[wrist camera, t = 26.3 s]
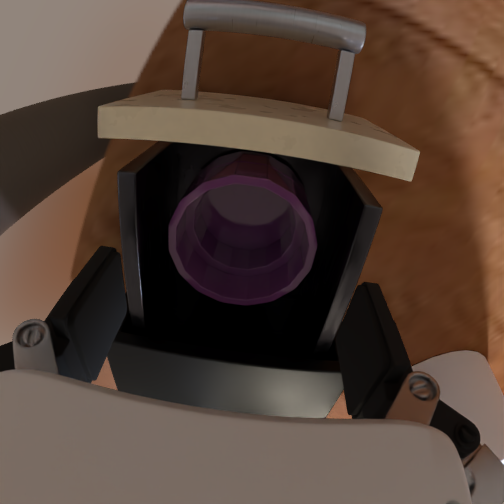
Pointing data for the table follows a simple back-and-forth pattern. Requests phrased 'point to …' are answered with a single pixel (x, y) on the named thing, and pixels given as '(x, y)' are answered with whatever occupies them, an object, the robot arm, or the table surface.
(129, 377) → the cabinet
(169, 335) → the drawer
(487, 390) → the cylinder
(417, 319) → the table surface
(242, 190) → the bowl
